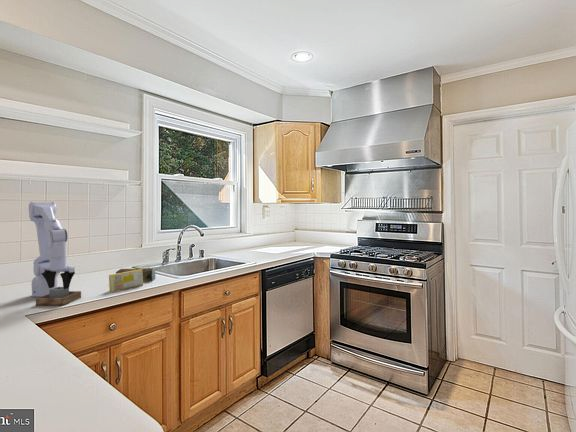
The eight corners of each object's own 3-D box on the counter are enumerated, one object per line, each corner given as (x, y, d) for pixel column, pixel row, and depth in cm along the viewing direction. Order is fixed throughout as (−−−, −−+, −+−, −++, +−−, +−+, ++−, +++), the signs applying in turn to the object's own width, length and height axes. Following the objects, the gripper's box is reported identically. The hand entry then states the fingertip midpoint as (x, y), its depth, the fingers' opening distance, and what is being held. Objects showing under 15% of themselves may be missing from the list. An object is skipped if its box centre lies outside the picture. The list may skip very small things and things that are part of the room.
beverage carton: (152, 281, 179) (152, 269, 178) (115, 283, 175) (114, 271, 175) (155, 278, 186) (155, 266, 186) (120, 279, 183) (119, 268, 183)
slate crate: (49, 301, 140) (49, 289, 140) (59, 297, 145) (59, 286, 145) (59, 301, 139) (58, 290, 139) (69, 298, 144) (68, 287, 144)
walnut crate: (35, 305, 136) (35, 298, 136) (55, 297, 148) (55, 291, 148) (63, 305, 136) (63, 298, 136) (81, 297, 148) (80, 291, 147)
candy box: (141, 284, 172) (141, 269, 171) (143, 285, 170) (143, 269, 170) (109, 291, 159) (108, 274, 159) (110, 291, 158) (110, 274, 157)
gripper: (79, 256, 144) (80, 286, 144) (52, 255, 146) (52, 284, 147) (66, 258, 137) (67, 290, 137) (37, 257, 139) (38, 289, 140)
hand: (58, 288), depth 142 cm, fingers open, 7 cm apart
